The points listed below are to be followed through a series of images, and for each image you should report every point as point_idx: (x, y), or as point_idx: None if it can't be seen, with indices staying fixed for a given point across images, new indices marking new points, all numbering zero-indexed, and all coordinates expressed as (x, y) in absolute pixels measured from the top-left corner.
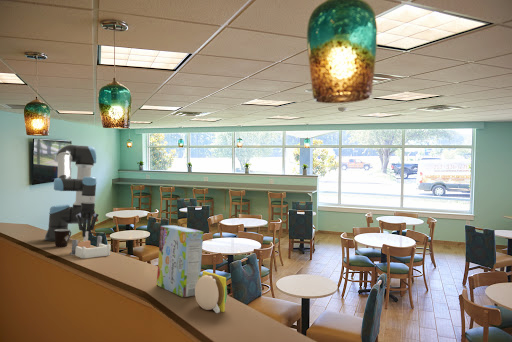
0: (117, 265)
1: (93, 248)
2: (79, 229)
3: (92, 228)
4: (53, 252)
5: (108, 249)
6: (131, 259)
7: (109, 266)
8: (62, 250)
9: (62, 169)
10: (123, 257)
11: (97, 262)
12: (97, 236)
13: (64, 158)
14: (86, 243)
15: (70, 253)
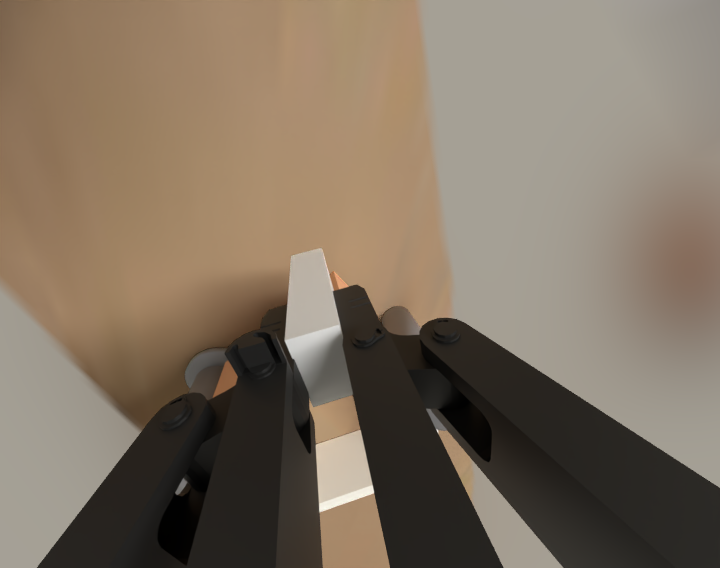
0: (385, 547)
1: (333, 504)
2: (161, 429)
3: (455, 412)
4: (6, 268)
5: None
6: (466, 485)
7: (356, 557)
8: (82, 185)
9: None
10: (456, 458)
11: (329, 520)
12: (431, 416)
13: None
14: None
15: (190, 381)
